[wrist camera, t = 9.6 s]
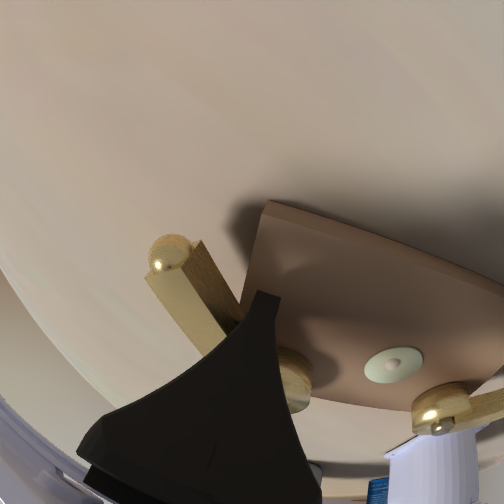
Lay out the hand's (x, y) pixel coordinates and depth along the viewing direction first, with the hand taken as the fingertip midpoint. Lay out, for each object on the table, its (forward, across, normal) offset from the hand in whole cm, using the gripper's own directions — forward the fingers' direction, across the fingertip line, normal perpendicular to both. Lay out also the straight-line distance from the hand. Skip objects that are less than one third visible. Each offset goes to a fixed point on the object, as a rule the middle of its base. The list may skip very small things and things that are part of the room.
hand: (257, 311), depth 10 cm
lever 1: (+1, 0, +2) cm, 2 cm away
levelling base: (+2, -7, +2) cm, 8 cm away
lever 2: (+1, -16, +3) cm, 16 cm away
